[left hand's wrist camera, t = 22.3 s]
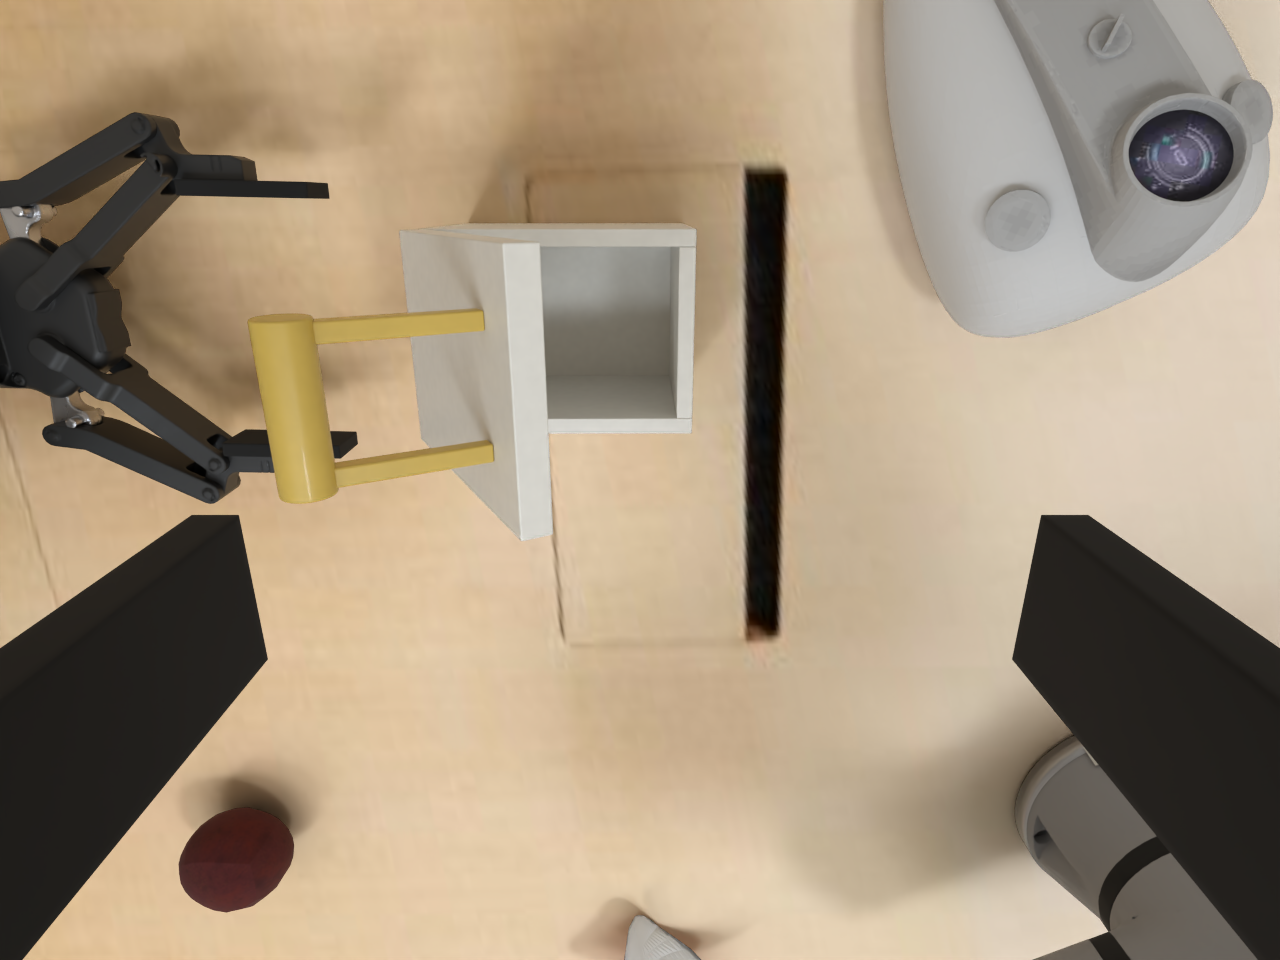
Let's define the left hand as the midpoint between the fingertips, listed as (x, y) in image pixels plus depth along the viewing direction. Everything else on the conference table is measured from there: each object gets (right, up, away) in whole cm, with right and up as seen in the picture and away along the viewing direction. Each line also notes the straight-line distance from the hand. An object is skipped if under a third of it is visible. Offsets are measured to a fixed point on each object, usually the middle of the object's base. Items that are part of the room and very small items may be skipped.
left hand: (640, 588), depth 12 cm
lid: (-6, +7, +18) cm, 20 cm away
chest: (-4, +13, +34) cm, 37 cm away
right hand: (-16, +10, +28) cm, 34 cm away
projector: (+21, +23, +30) cm, 43 cm away
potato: (-31, -26, +48) cm, 63 cm away
